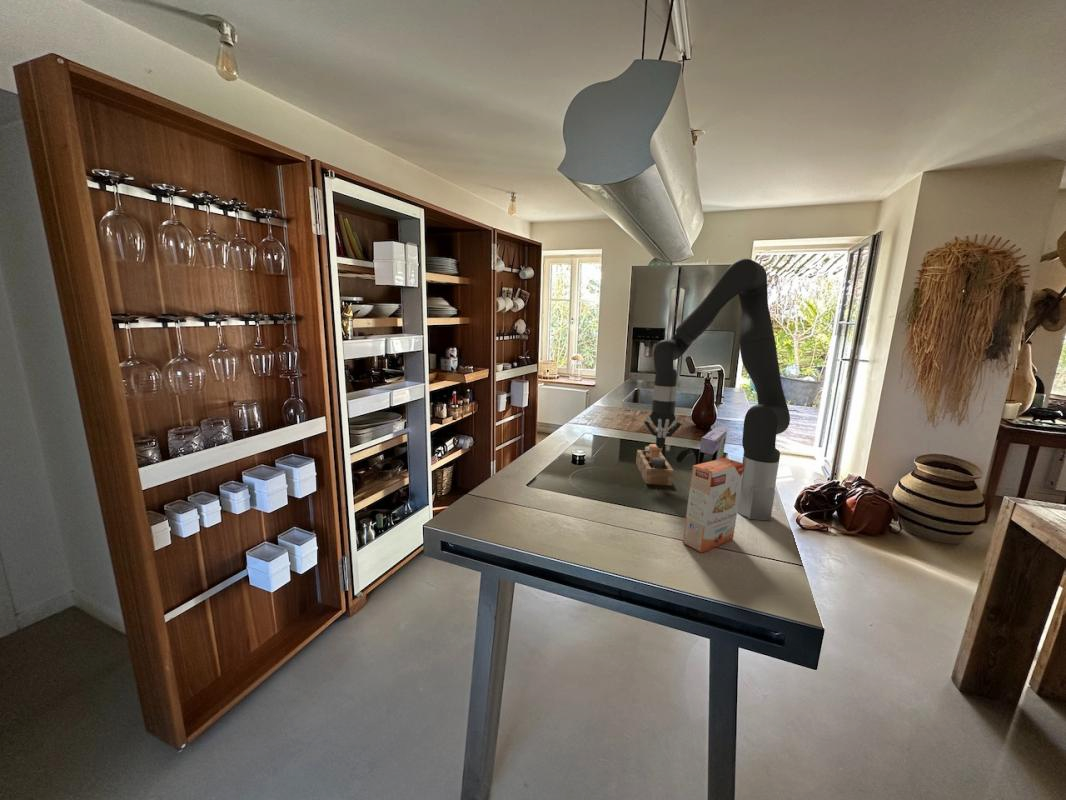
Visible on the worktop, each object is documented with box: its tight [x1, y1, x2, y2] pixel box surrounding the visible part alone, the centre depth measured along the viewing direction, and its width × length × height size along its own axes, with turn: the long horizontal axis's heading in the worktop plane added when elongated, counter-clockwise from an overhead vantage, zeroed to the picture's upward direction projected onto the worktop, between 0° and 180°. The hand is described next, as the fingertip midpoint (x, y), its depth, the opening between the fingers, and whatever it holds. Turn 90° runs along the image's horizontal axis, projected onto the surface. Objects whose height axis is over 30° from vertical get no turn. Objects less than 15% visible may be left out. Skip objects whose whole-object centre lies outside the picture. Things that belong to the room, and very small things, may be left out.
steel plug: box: [644, 445, 650, 456], centre depth 161 cm, size 5×5×7 cm
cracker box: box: [682, 457, 745, 554], centre depth 105 cm, size 14×6×21 cm, turn 124°
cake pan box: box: [697, 427, 728, 464], centre depth 149 cm, size 19×5×18 cm, turn 143°
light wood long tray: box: [635, 449, 675, 487], centre depth 155 cm, size 22×9×6 cm, turn 175°
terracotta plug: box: [648, 443, 663, 462], centre depth 154 cm, size 5×5×7 cm
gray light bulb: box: [652, 457, 666, 469], centre depth 148 cm, size 5×5×7 cm
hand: (659, 447), depth 146 cm, fingers closed
